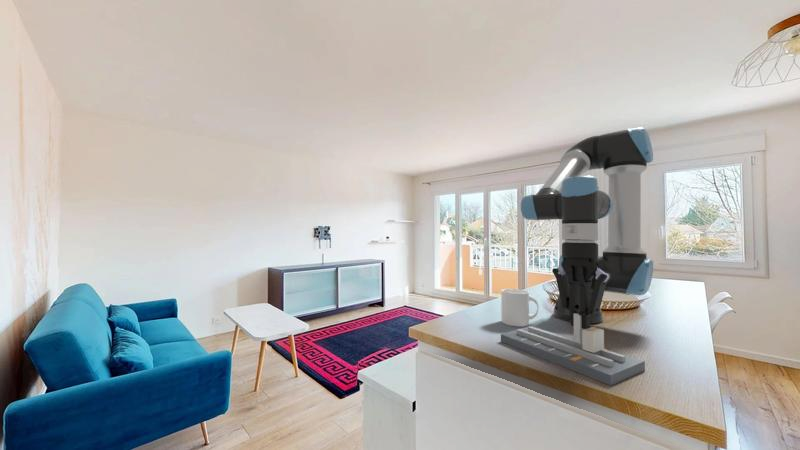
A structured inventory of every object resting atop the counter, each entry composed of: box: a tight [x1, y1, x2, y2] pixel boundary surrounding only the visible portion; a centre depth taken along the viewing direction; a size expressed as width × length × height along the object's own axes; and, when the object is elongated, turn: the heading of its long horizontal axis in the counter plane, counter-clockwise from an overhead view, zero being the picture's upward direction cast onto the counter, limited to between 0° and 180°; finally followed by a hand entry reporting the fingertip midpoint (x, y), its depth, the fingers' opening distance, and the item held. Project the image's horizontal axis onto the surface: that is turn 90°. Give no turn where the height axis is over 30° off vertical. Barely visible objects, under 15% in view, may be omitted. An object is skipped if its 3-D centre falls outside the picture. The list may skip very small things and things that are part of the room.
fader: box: [582, 326, 605, 356], centre depth 70 cm, size 4×2×6 cm, turn 119°
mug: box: [500, 288, 539, 328], centre depth 102 cm, size 9×12×11 cm
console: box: [500, 326, 646, 386], centre depth 76 cm, size 14×28×3 cm, turn 29°
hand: (580, 341), depth 73 cm, fingers closed
